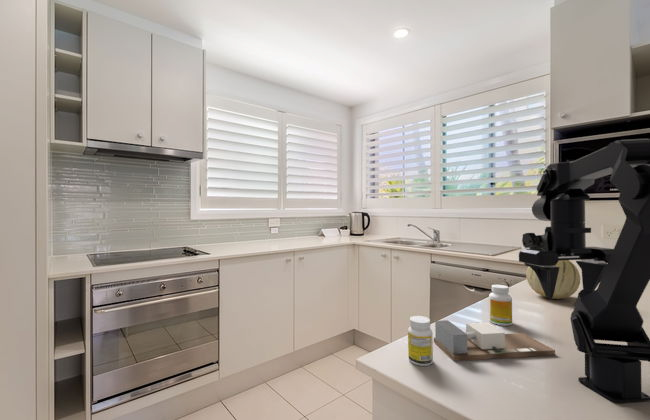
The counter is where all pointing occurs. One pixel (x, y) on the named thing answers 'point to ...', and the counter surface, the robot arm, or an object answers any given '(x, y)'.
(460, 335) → the gray concrete brick
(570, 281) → the cantaloupe
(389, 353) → the counter surface
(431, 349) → the supplement bottle
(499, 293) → the supplement bottle
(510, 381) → the counter surface
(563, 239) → the robot arm
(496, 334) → the gauge carriage
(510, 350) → the base
